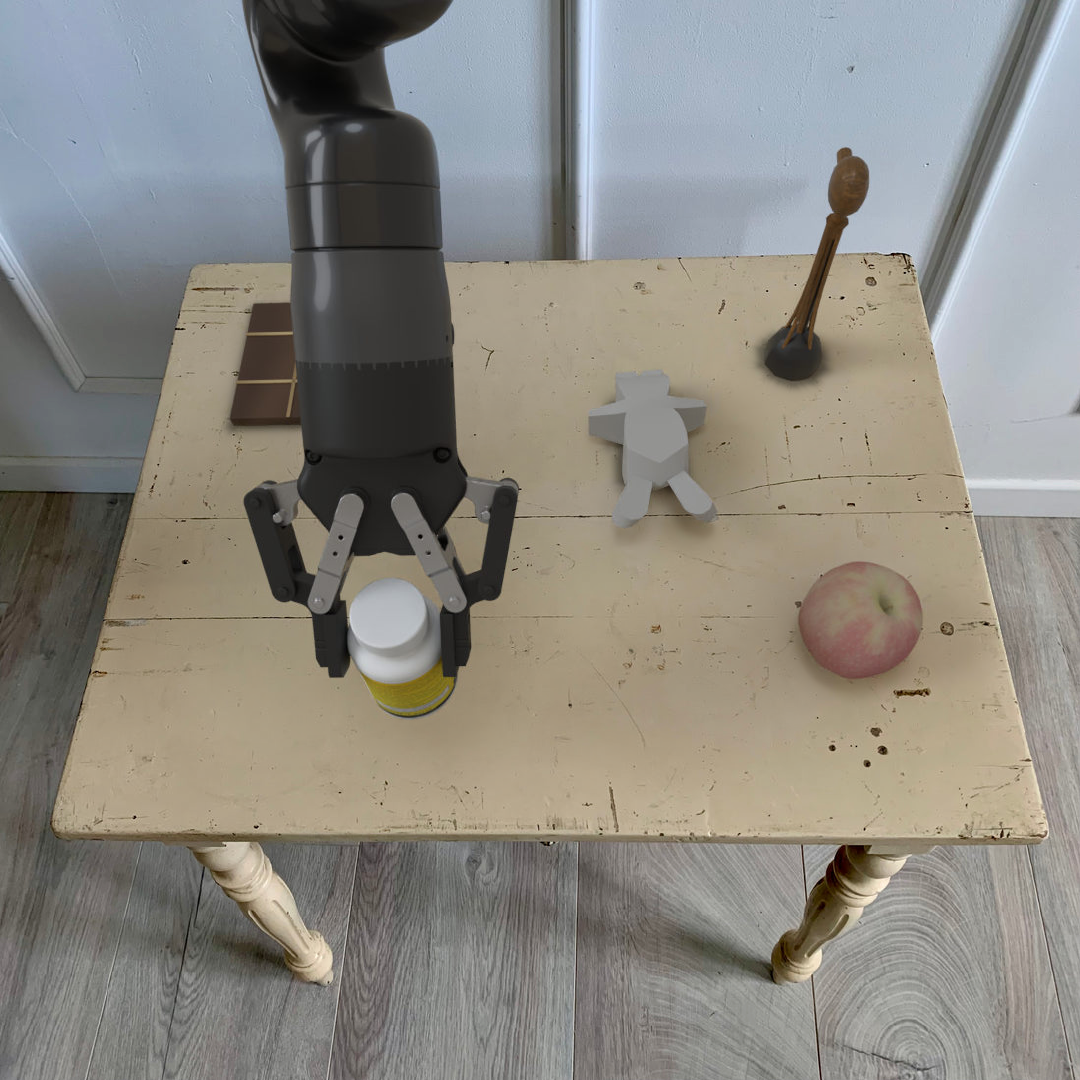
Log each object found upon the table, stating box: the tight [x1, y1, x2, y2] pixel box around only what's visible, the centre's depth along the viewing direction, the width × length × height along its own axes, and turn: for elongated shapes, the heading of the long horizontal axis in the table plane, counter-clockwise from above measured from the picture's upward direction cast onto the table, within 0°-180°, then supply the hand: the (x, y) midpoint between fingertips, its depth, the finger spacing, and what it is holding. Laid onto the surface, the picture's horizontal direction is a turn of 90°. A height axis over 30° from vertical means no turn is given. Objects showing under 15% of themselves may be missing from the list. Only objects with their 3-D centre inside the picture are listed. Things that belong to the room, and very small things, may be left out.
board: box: [229, 302, 301, 426], centre depth 78 cm, size 16×13×1 cm
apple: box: [797, 560, 924, 680], centre depth 61 cm, size 8×8×8 cm
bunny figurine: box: [587, 368, 718, 529], centre depth 70 cm, size 10×5×15 cm
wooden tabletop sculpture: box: [763, 146, 870, 382], centre depth 68 cm, size 6×5×20 cm
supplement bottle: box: [347, 577, 459, 721], centre depth 49 cm, size 5×5×10 cm
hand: (396, 670), depth 47 cm, fingers closed on supplement bottle, 5 cm apart
